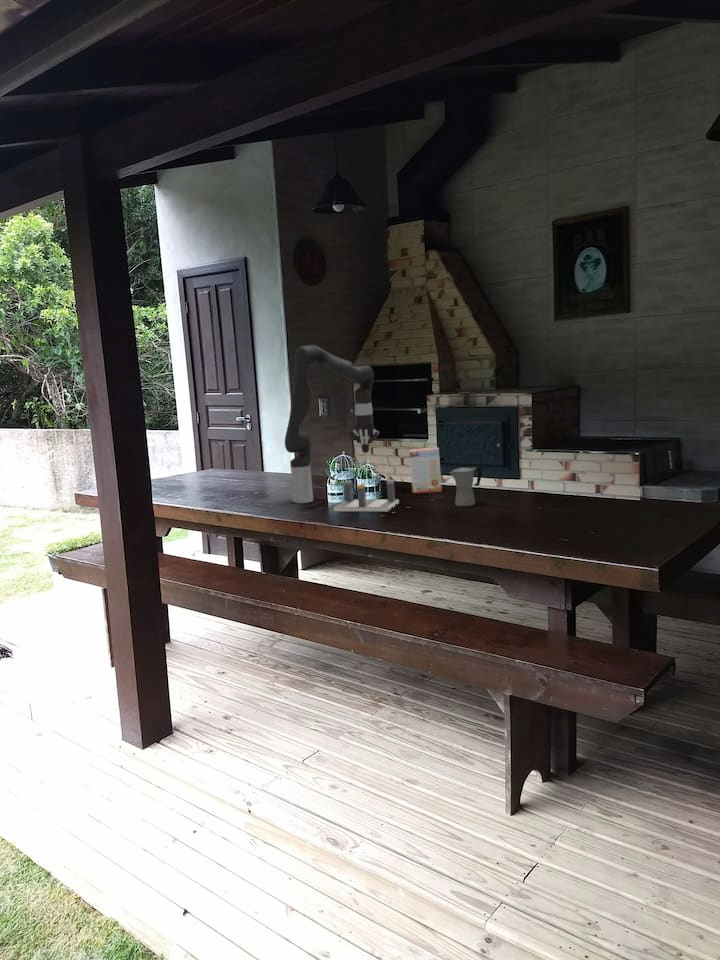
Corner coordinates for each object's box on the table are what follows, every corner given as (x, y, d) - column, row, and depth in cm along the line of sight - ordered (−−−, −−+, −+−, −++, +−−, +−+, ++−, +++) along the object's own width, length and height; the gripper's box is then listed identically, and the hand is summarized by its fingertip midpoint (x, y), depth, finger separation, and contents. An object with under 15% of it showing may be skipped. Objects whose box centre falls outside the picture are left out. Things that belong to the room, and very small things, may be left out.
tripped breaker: (358, 506, 326) (357, 485, 325) (361, 504, 329) (359, 484, 328) (364, 506, 326) (362, 485, 324) (366, 504, 328) (364, 484, 327)
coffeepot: (455, 507, 318) (453, 466, 315) (446, 504, 327) (444, 463, 324) (488, 503, 322) (486, 462, 319) (478, 499, 331) (477, 459, 328)
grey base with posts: (333, 511, 329) (331, 487, 327) (347, 503, 345) (345, 480, 343) (387, 511, 321) (386, 486, 319) (399, 503, 336) (397, 479, 335)
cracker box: (441, 489, 360) (439, 446, 356) (441, 492, 354) (439, 448, 351) (412, 491, 361) (409, 448, 358) (412, 493, 356) (409, 450, 352)
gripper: (346, 414, 318) (348, 454, 322) (376, 414, 314) (378, 454, 319) (351, 411, 325) (353, 450, 329) (380, 411, 321) (382, 450, 326)
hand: (365, 452), depth 324 cm, fingers closed
